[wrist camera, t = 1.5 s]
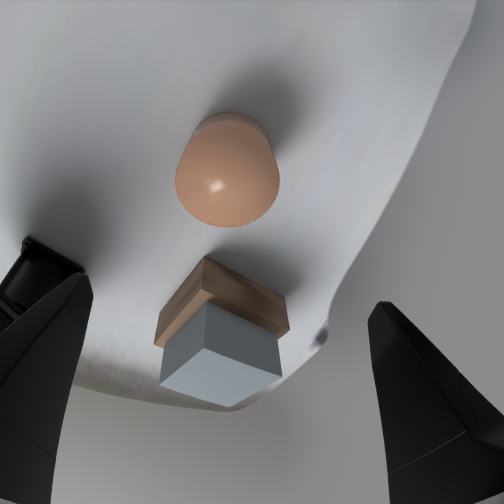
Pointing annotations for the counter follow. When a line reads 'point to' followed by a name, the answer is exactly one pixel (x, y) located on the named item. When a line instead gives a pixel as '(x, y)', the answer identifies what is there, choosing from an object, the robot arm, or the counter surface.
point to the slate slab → (220, 357)
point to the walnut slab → (222, 301)
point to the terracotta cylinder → (227, 171)
